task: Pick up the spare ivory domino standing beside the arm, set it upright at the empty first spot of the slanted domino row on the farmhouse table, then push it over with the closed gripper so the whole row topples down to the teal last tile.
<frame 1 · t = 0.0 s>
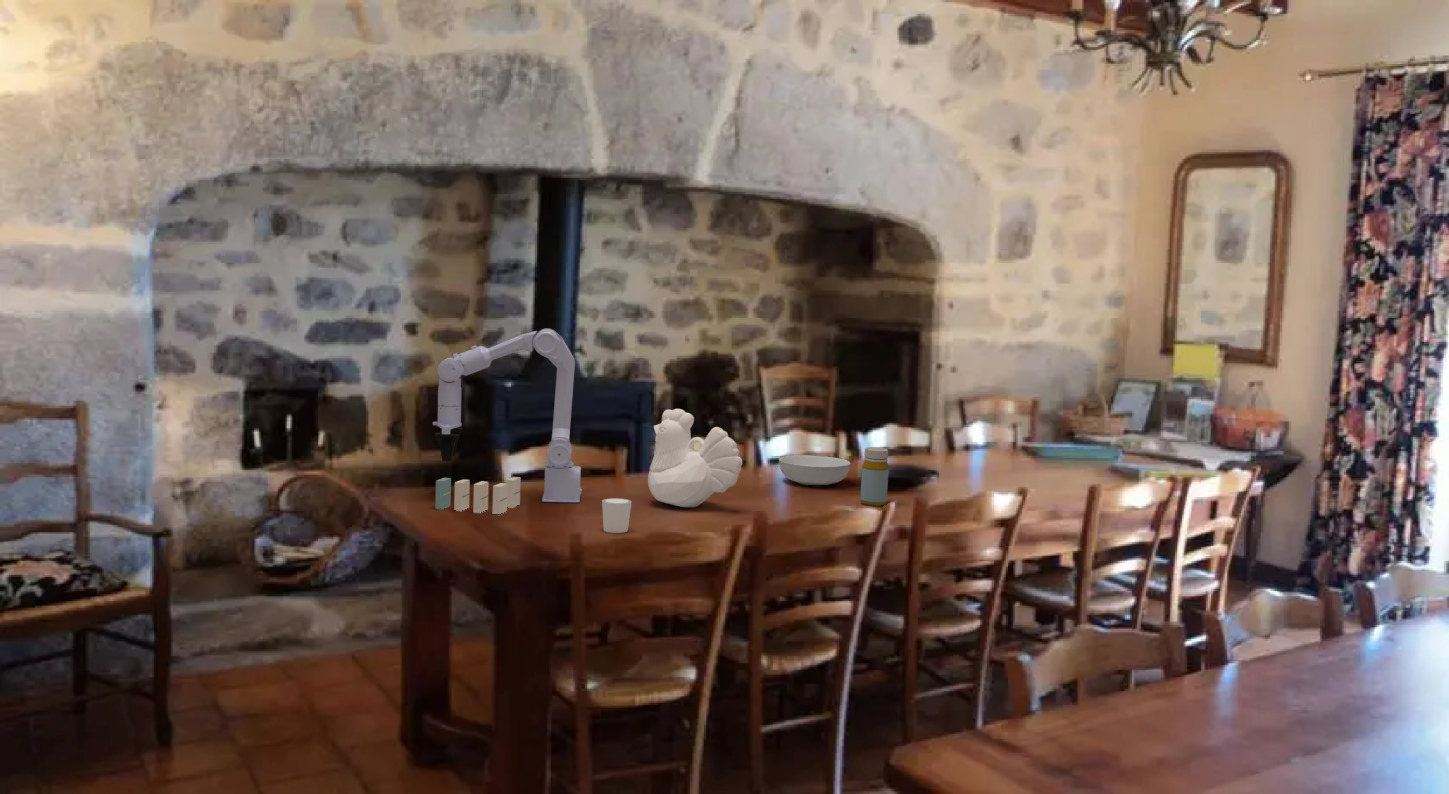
hand: (448, 458, 303), 10 cm above the table, tool pointing down, fingers open, 7 cm apart
last tile: (442, 507, 293), on the table
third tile: (480, 511, 290), on the table
lead tile: (513, 506, 298), on the table
decorative rooster: (691, 508, 306), on the table
serving bowl: (813, 484, 347), on the table
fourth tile: (461, 509, 291), on the table
shot glass: (615, 531, 277), on the table
bottle: (873, 504, 321), on the table
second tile: (499, 513, 289), on the table
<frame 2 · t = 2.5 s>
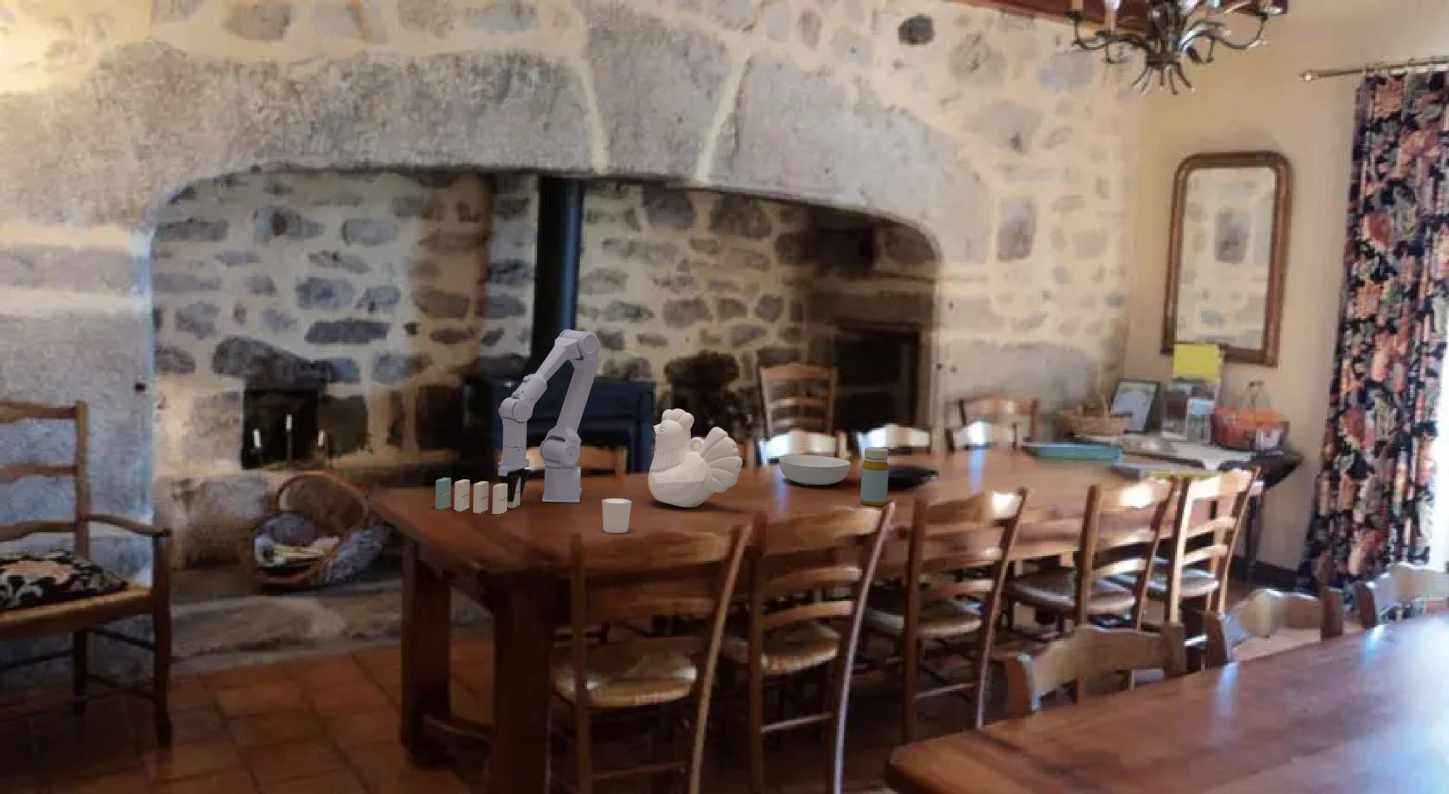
hand: (513, 499, 297), 2 cm above the table, tool pointing down, fingers closed on lead tile, 4 cm apart
lead tile: (513, 506, 298), on the table, touching gripper
everything else where it was.
when the fingers open (2 cm above the table, at t = 5.9 s): lead tile stays where it is, on the table.
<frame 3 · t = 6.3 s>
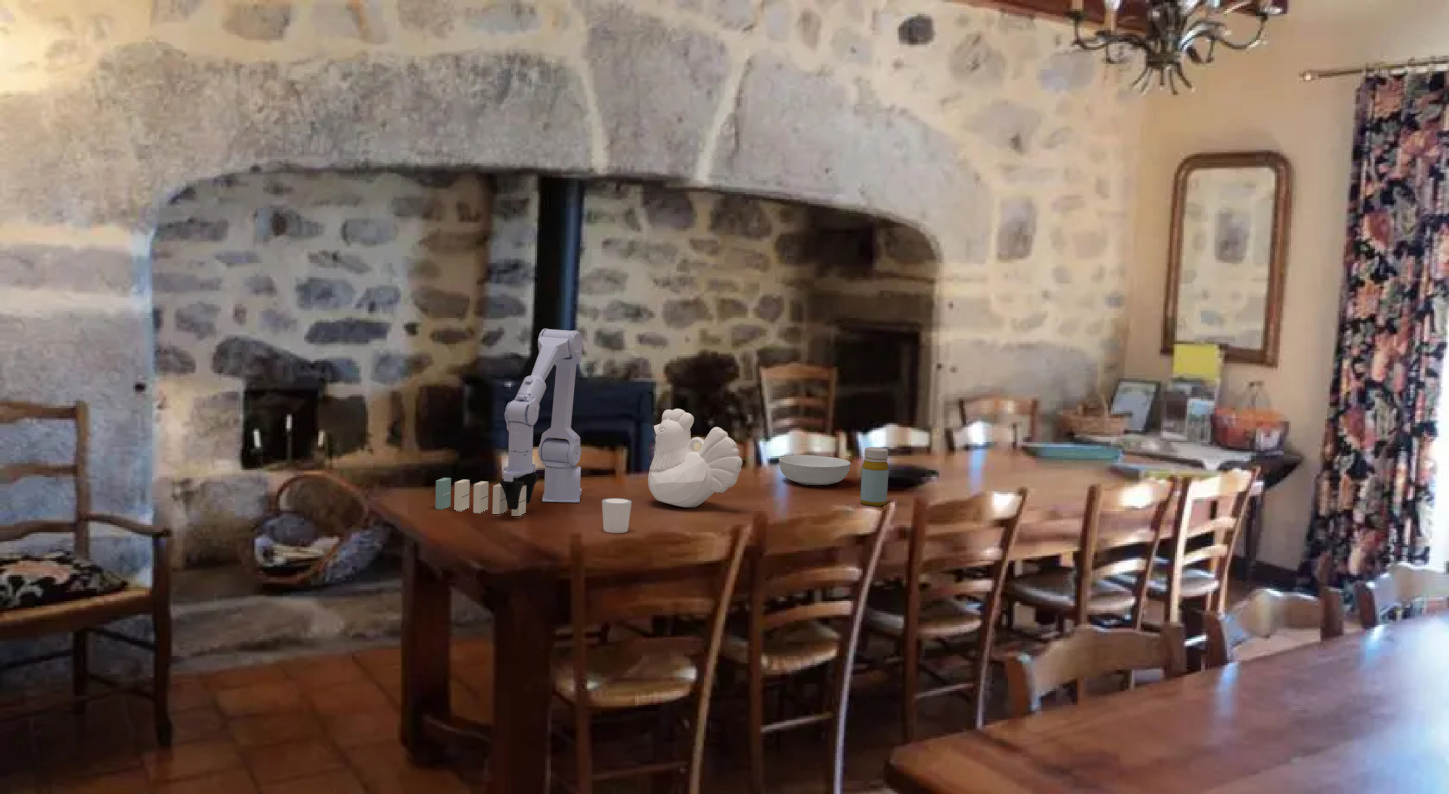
hand: (519, 506, 288), 2 cm above the table, tool pointing down, fingers open, 7 cm apart
lead tile: (518, 515, 288), on the table
everything else where it was.
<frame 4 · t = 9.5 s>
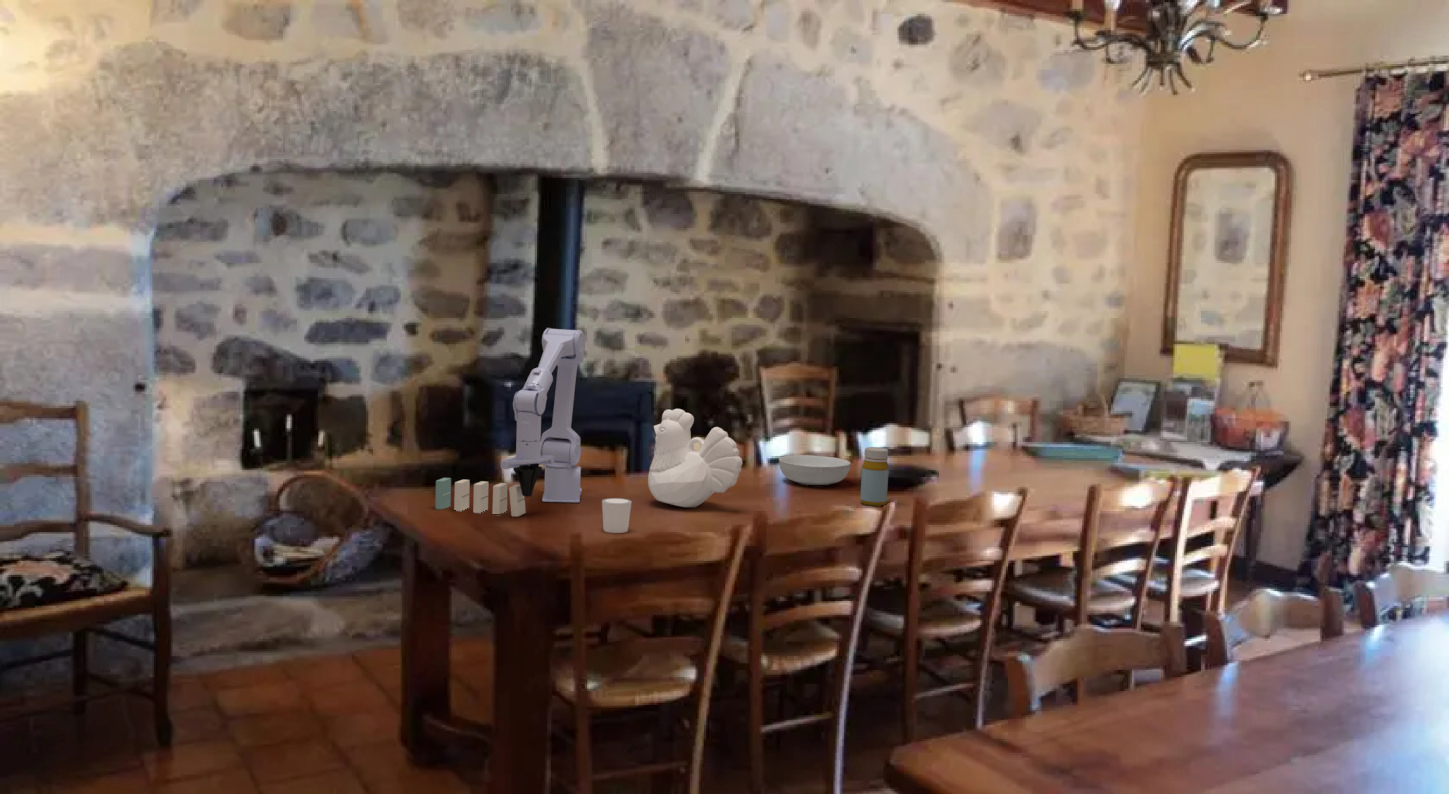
hand: (526, 495, 287), 5 cm above the table, tool pointing down, fingers closed
lead tile: (518, 514, 288), on the table, tilted 6°
everything else where it was.
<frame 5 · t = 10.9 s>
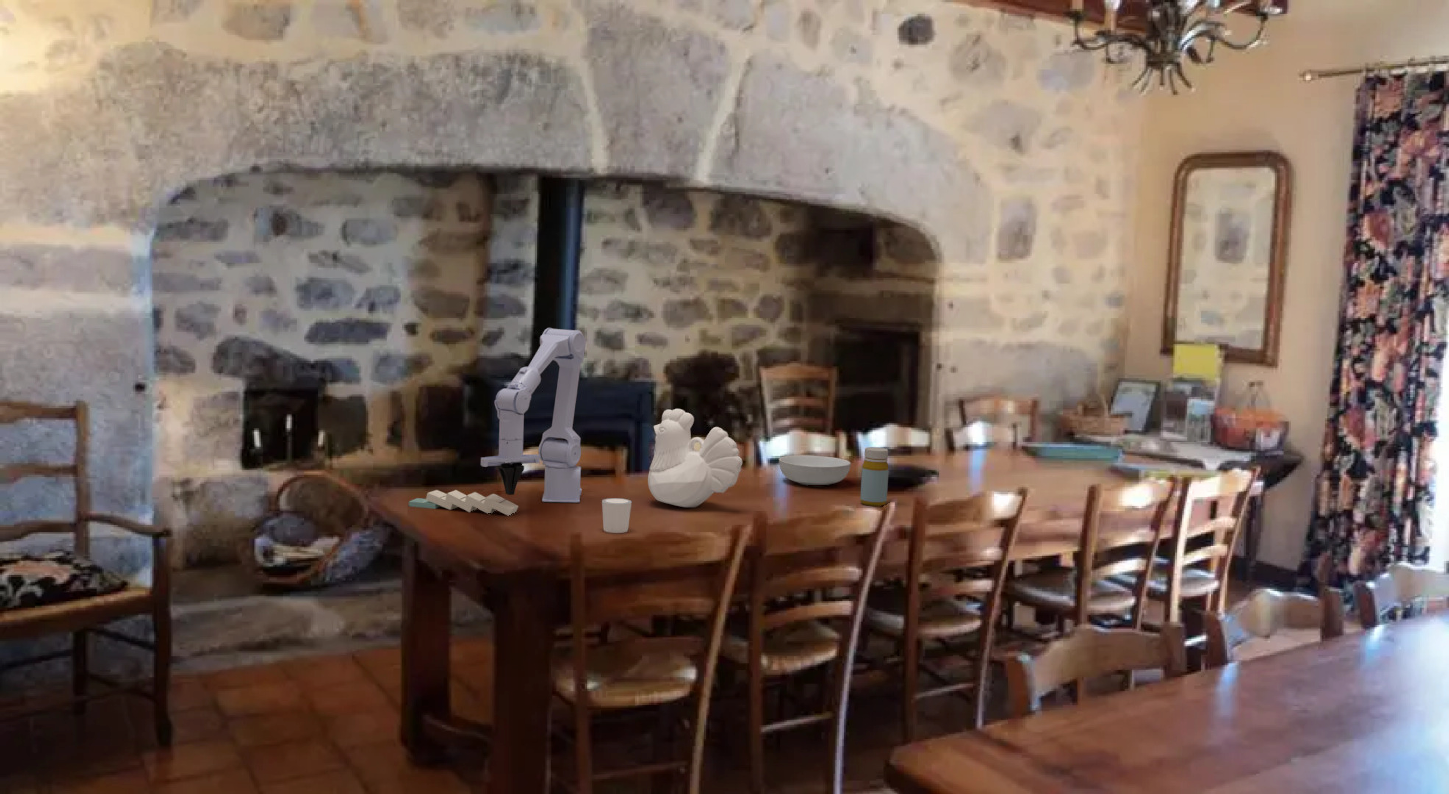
hand: (509, 494, 288), 5 cm above the table, tool pointing down, fingers closed
last tile: (439, 505, 293), on the table, tilted 90°, touching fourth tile
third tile: (474, 507, 290), point 1 cm above the table, tilted 69°, touching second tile
lead tile: (513, 511, 288), point 1 cm above the table, tilted 69°, touching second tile
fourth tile: (455, 504, 292), point 1 cm above the table, tilted 75°, touching last tile
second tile: (494, 509, 289), point 1 cm above the table, tilted 69°, touching lead tile, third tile
everything else where it was.
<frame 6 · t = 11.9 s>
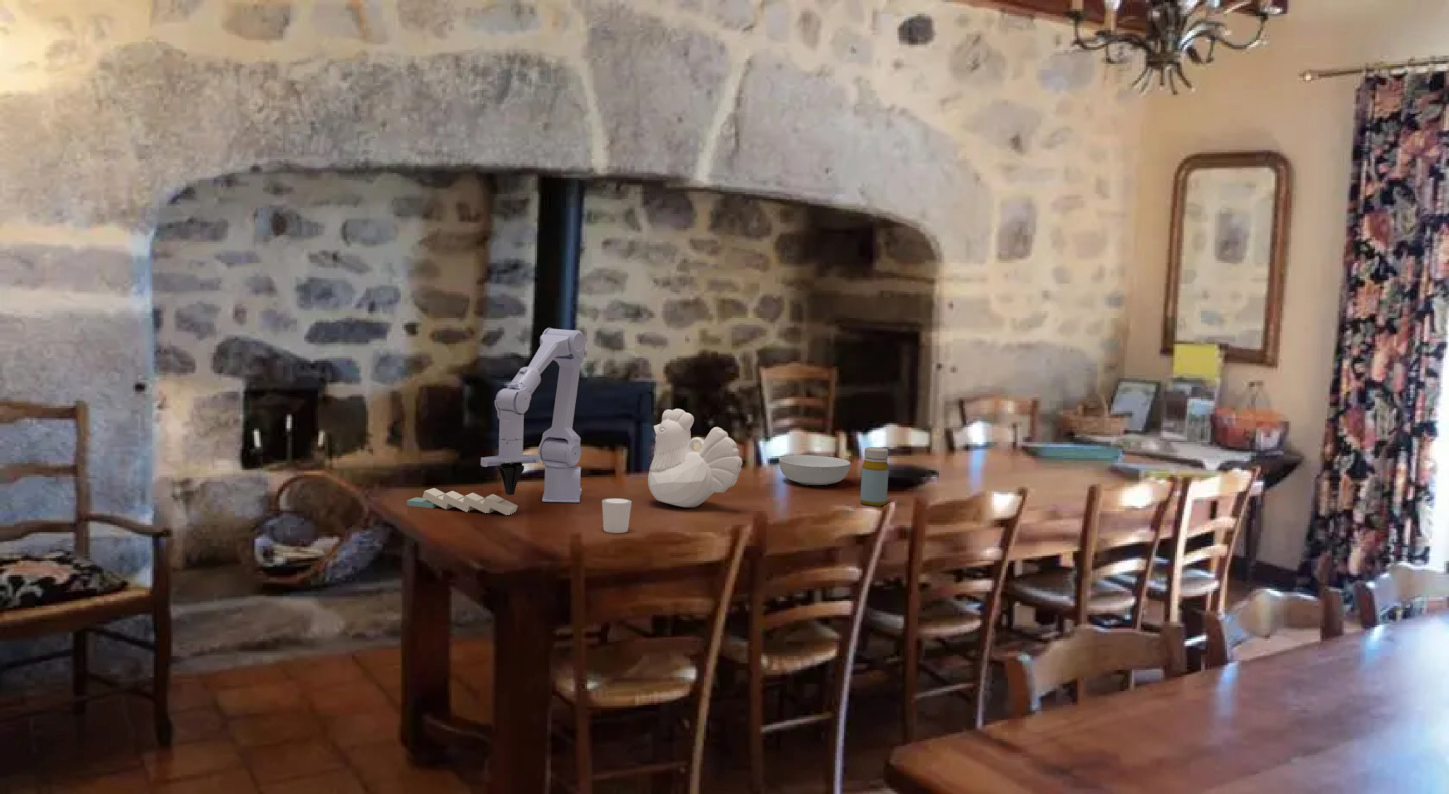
hand: (509, 494, 288), 5 cm above the table, tool pointing down, fingers closed
last tile: (437, 505, 293), on the table, tilted 90°
lead tile: (513, 511, 288), point 1 cm above the table, tilted 70°
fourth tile: (451, 504, 292), point 1 cm above the table, tilted 71°
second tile: (492, 509, 289), point 1 cm above the table, tilted 71°, touching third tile
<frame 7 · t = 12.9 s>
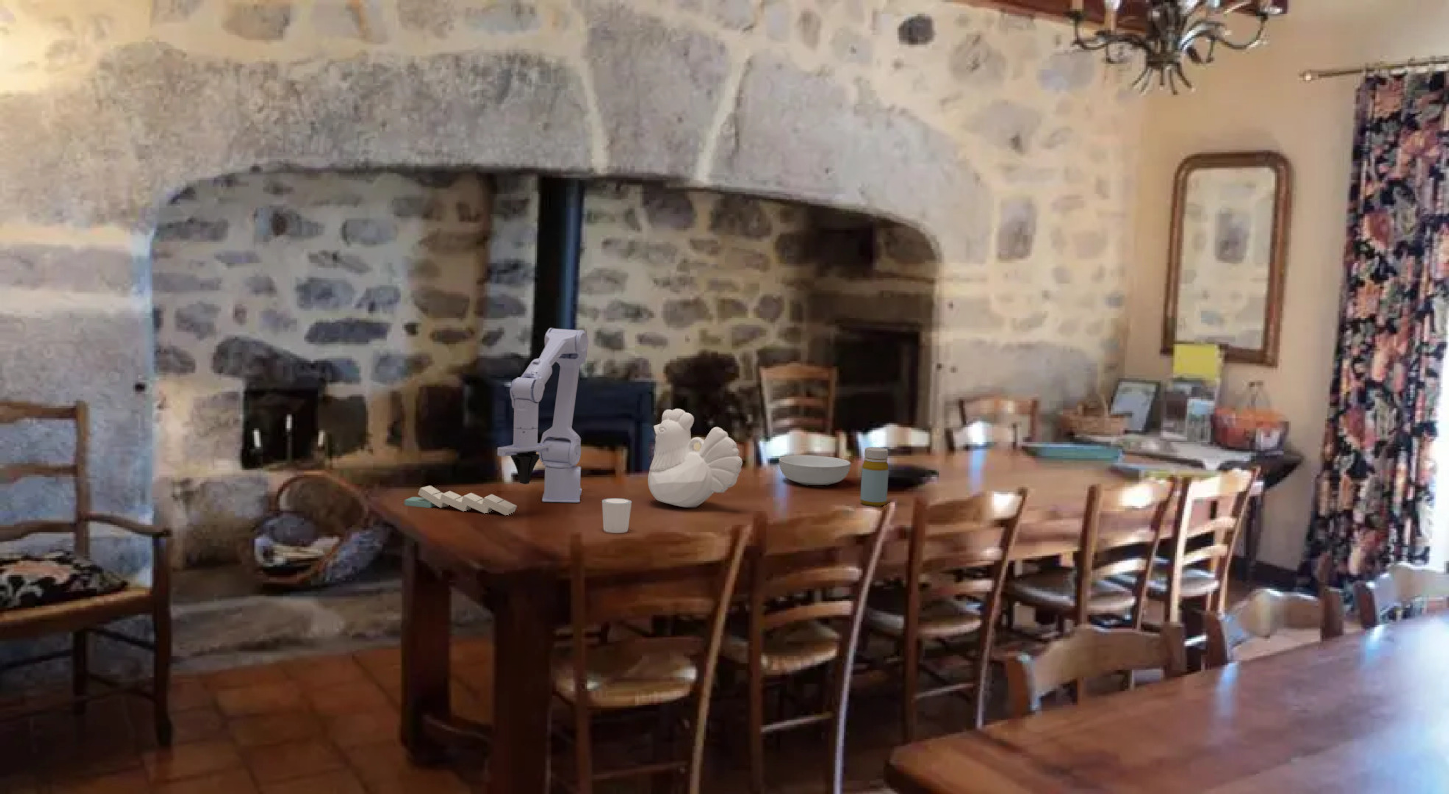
hand: (524, 483, 287), 8 cm above the table, tool pointing down, fingers closed
last tile: (434, 504, 294), on the table, tilted 90°, touching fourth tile
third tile: (469, 506, 291), point 1 cm above the table, tilted 72°, touching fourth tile, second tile
lead tile: (512, 510, 289), point 1 cm above the table, tilted 70°, touching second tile
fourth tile: (446, 503, 293), point 1 cm above the table, tilted 67°, touching last tile, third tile
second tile: (491, 509, 290), point 1 cm above the table, tilted 71°, touching lead tile, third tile
everything else where it was.
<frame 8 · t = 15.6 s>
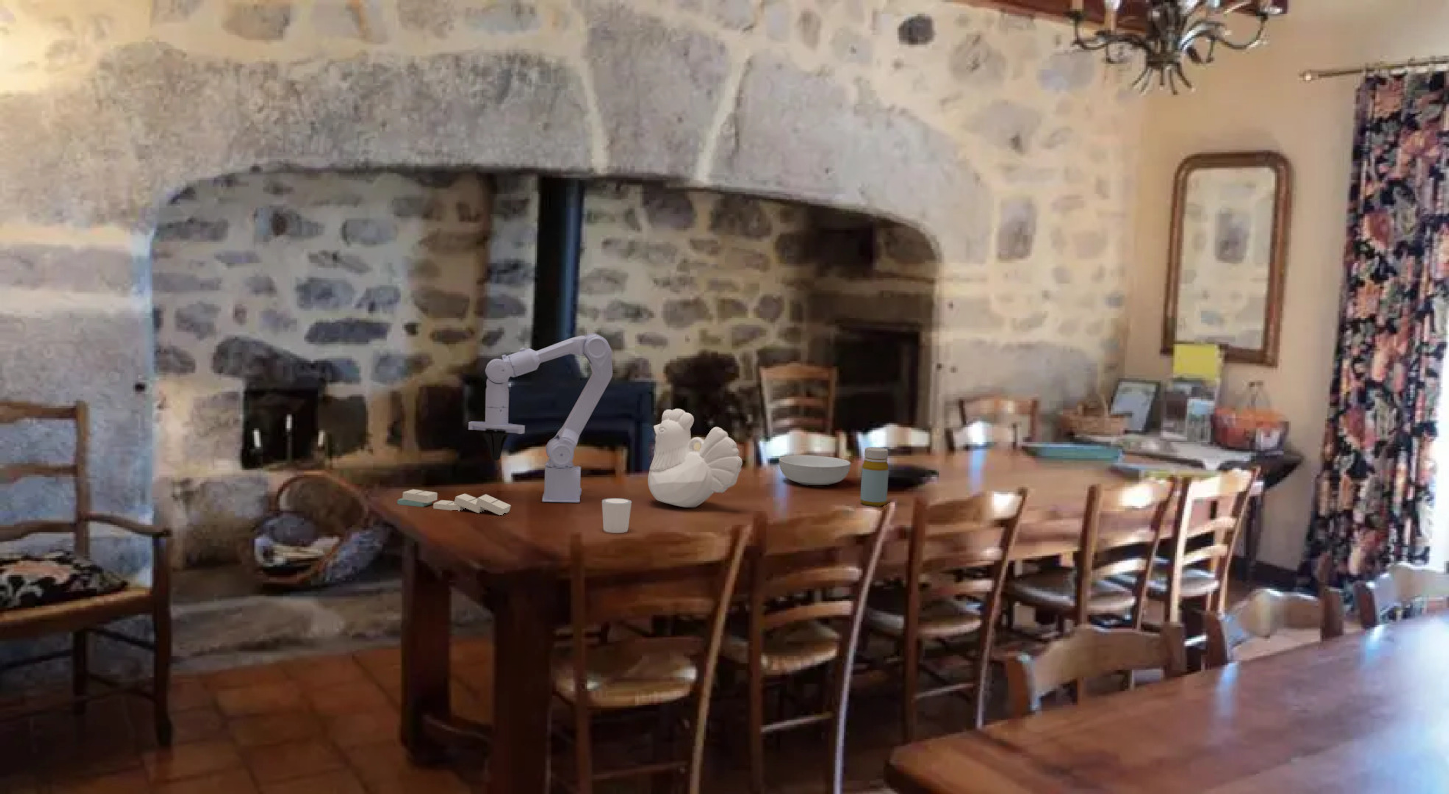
hand: (495, 459, 303), 10 cm above the table, tool pointing down, fingers closed
last tile: (427, 504, 294), on the table, tilted 90°, touching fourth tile
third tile: (463, 508, 291), on the table, tilted 90°
lead tile: (506, 510, 288), point 1 cm above the table, tilted 72°, touching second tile
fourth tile: (432, 497, 294), point 2 cm above the table, tilted 89°, touching last tile
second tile: (484, 508, 290), point 1 cm above the table, tilted 76°, touching lead tile
everything else where it was.
at the end: last tile tilted 90°; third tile tilted 90°; the gripper is holding nothing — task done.
